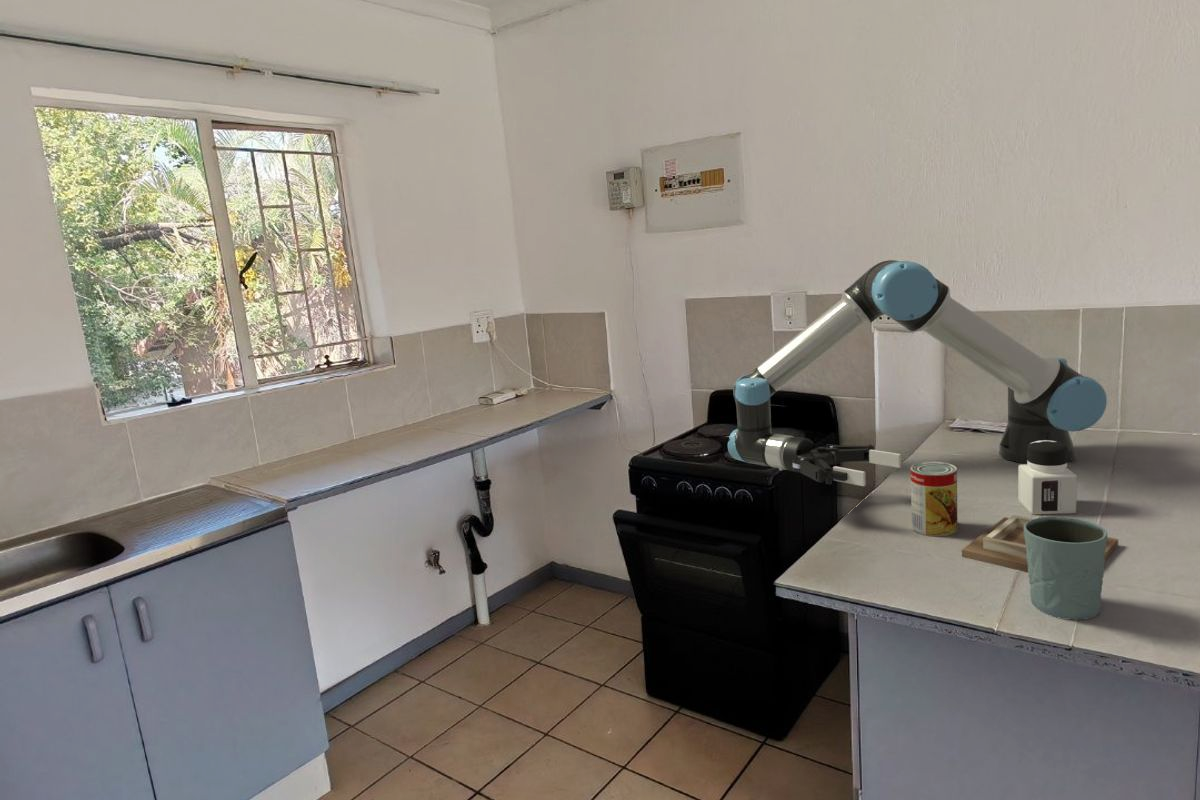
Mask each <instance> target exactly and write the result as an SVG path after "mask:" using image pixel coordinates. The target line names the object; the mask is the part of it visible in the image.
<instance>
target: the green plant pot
mask: <svg viewBox="0 0 1200 800" xmlns="http://www.w3.org/2000/svg"><path fill="white" fill-rule="evenodd" d="M1032 519H1033V520H1030V521H1028V522H1027V523H1026V524H1025V525H1024V536H1025V543H1026V551H1027V562H1028V572H1027V573H1028V578H1029V579H1028V582H1029V584H1030V587H1029V588H1030V589H1029V592H1030V593H1029V595H1030V602H1031V604H1032V606H1033V605H1034V606H1035V607H1036V608H1037V609H1036V608H1035V607H1034V606H1033V607H1034V608H1035V609H1036V610H1038V609H1039V610H1040V611H1039V610H1038V611H1039V612H1041V611H1042V612H1041V613H1043V612H1044V613H1043V614H1045V613H1046V614H1045V615H1047V614H1048V616H1050V615H1051V617H1054V618H1057V617H1060V618H1059V619H1062V618H1069V619H1068V620H1070V619H1082V620H1086V619H1085V618H1088V619H1092V618H1091V617H1093V618H1095V617H1096V616H1097V615H1099V613H1100V610H1101V604H1102V590H1103V584H1104V583H1103V578H1104V570H1105V561H1106V559H1104V555H1105V552H1106V543H1107V537H1108V531H1107V530H1106V529H1105V528H1104V527H1103V526H1101V525H1100V524H1097V523H1095V522H1093V521H1092V522H1091V521H1088V520H1084V519H1080V518H1077V517H1076V518H1075V517H1069V516H1046V517H1045V516H1043V517H1042V516H1041V517H1036V518H1032ZM1095 615H1096V616H1095ZM1094 616H1095V617H1094Z"/></svg>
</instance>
